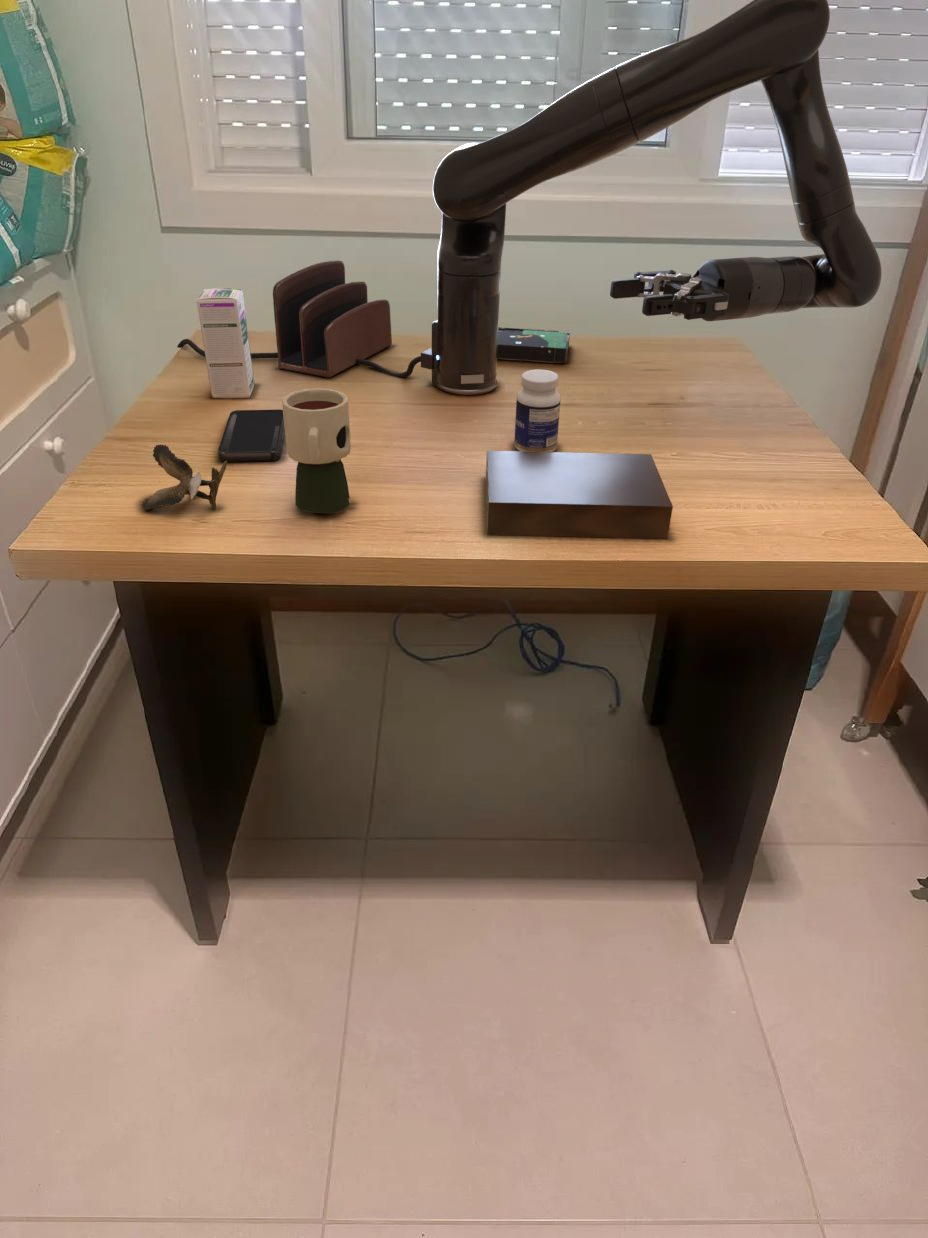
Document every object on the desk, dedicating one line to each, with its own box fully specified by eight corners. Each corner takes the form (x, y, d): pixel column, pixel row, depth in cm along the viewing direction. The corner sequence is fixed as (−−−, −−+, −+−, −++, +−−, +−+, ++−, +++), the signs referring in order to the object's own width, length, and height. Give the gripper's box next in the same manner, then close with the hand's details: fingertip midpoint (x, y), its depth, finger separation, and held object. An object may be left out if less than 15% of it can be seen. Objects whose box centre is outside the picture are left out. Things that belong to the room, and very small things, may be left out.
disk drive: (478, 360, 149) (567, 364, 147) (479, 343, 147) (568, 347, 146) (485, 341, 157) (569, 345, 156) (485, 325, 156) (570, 329, 154)
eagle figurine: (232, 478, 106) (158, 461, 105) (224, 446, 99) (145, 427, 99) (212, 534, 103) (136, 516, 103) (203, 504, 96) (121, 485, 96)
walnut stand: (487, 534, 98) (488, 502, 96) (485, 480, 110) (486, 450, 107) (667, 538, 98) (673, 506, 96) (646, 484, 110) (651, 453, 107)
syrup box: (250, 398, 131) (238, 297, 123) (210, 398, 131) (195, 297, 123) (255, 385, 136) (244, 287, 128) (216, 385, 136) (202, 287, 128)
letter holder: (277, 369, 142) (268, 277, 135) (344, 337, 157) (339, 253, 149) (330, 379, 139) (323, 286, 131) (393, 345, 154) (390, 260, 146)
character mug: (352, 529, 98) (345, 417, 91) (287, 530, 98) (276, 417, 91) (356, 486, 107) (350, 381, 100) (296, 486, 107) (286, 381, 100)
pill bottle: (511, 439, 120) (515, 367, 115) (552, 439, 121) (558, 367, 115) (517, 457, 116) (521, 382, 110) (560, 456, 116) (566, 382, 110)
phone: (216, 453, 112) (231, 409, 124) (218, 462, 112) (232, 417, 124) (280, 452, 112) (288, 409, 125) (281, 460, 113) (288, 416, 125)
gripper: (712, 246, 119) (604, 254, 114) (777, 270, 108) (660, 279, 103) (703, 304, 123) (598, 313, 119) (764, 332, 112) (651, 343, 107)
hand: (627, 297), depth 111 cm, fingers open, 8 cm apart
